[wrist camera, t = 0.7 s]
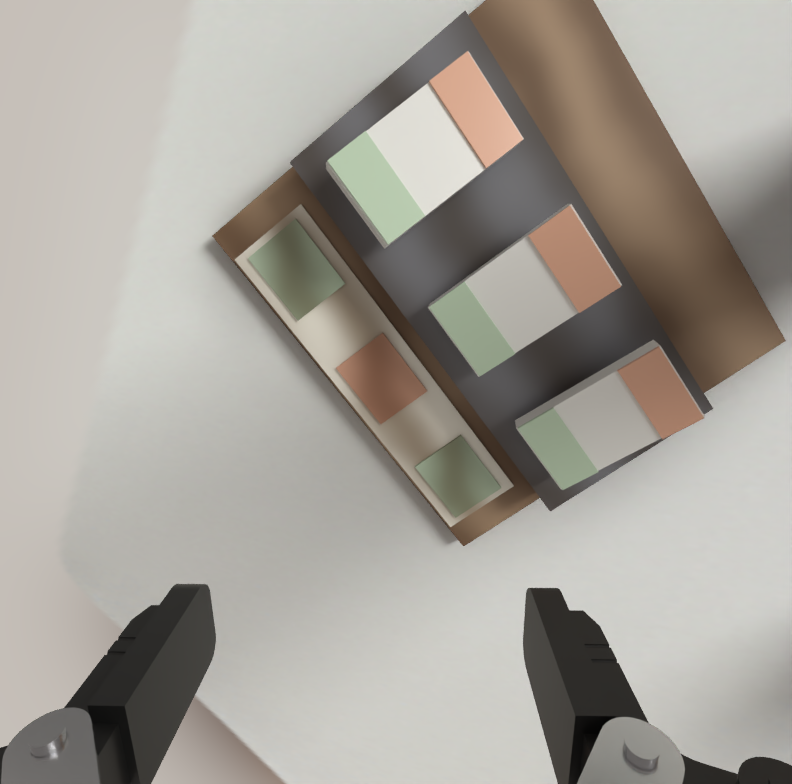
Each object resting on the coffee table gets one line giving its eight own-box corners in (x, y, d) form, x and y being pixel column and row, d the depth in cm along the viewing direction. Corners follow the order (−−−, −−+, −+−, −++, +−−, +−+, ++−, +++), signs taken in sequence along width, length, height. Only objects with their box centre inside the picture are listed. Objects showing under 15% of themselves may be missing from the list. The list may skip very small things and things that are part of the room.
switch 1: (462, 63, 26) (469, 49, 25) (515, 146, 27) (525, 137, 26) (326, 169, 26) (325, 161, 25) (384, 248, 27) (387, 245, 26)
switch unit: (551, -50, 29) (582, -115, 24) (772, 337, 34) (836, 351, 29) (219, 236, 33) (185, 233, 28) (461, 537, 39) (470, 579, 34)
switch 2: (567, 203, 26) (571, 203, 25) (616, 281, 27) (622, 285, 26) (429, 303, 29) (427, 308, 28) (478, 370, 30) (478, 377, 29)
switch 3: (653, 339, 28) (661, 346, 27) (696, 407, 29) (705, 417, 28) (514, 420, 31) (516, 429, 30) (558, 479, 32) (561, 491, 31)
